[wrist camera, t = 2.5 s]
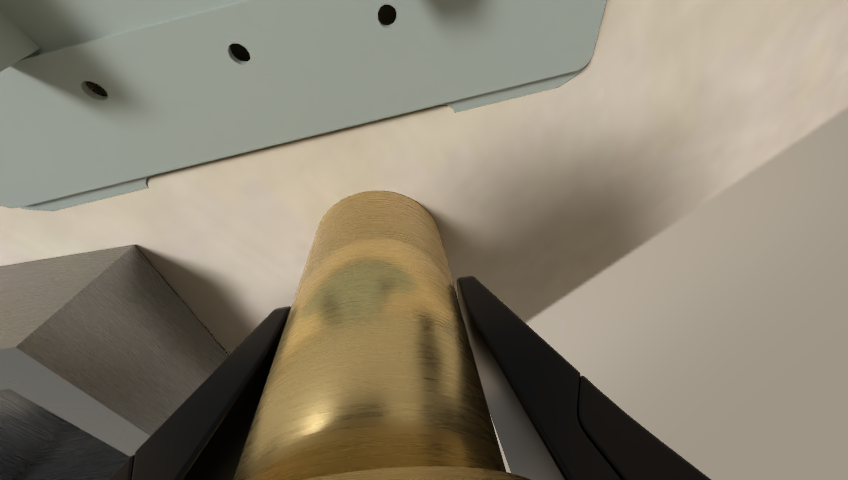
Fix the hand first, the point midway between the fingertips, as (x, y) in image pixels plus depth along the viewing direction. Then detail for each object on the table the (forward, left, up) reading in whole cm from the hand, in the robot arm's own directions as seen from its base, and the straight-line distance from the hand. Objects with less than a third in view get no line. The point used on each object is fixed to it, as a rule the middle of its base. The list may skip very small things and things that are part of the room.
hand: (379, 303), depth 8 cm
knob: (0, 0, -2) cm, 2 cm away
